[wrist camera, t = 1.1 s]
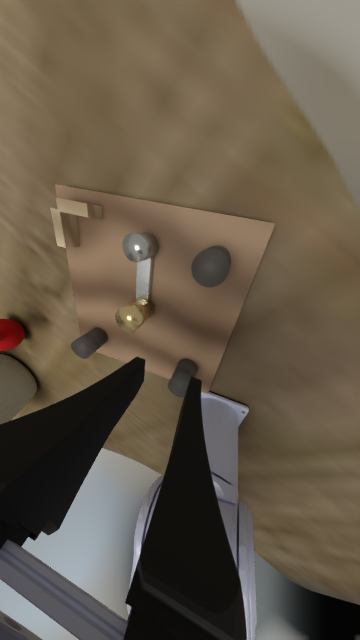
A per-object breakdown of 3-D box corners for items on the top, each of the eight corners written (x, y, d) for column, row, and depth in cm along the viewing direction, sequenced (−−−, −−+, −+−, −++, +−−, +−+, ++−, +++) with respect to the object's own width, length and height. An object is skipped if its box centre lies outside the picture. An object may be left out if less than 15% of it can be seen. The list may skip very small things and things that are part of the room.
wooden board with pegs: (209, 385, 24) (202, 418, 19) (89, 341, 27) (62, 361, 23) (271, 224, 13) (286, 220, 9) (68, 187, 17) (12, 173, 13)
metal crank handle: (135, 230, 15) (111, 230, 12) (161, 236, 15) (143, 237, 12) (133, 314, 20) (115, 327, 17) (153, 320, 19) (138, 335, 16)
